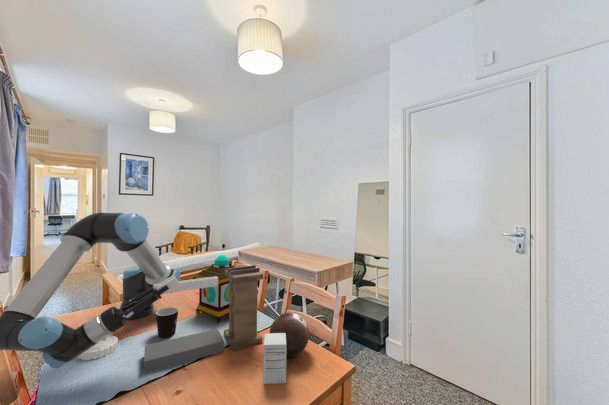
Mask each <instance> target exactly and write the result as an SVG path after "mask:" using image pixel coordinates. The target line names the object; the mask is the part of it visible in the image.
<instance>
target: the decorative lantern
mask: <svg viewBox="0 0 609 405" xmlns="http://www.w3.org/2000/svg"><path fill="white" fill-rule="evenodd" d="M229 260H230V259H229V258H228V257H227V256H226V255H224V254H219V255H218V256H217V257H216V258H215V259H214V263H213V264H211V266H209V267H207V268H205V269H202V270H201V271H199V272H198V273H197V274H196V275H197V278H206V277H214V276H217V277H218V286H213V287H206V288H199V289H198V290H199V295H198V296H199V297H198V298H199V300H198V305H197V306H196V309H195V314H196V316H199V315H200V314H201V313H204V314H206V315H209V316H211V317H213V318H216V321H217V322H216V323H217V324H219V323H220V324H221V321H222V318H223V317H225V316H227V315H229V295H230V279H229V278H228V277H227V276H226V275H225V270H226V269H227V268H235V267H236V266H234V265H233V264H232V263H230V261H229Z"/></svg>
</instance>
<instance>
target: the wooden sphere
mask: <svg viewBox="0 0 609 405" xmlns="http://www.w3.org/2000/svg"><path fill="white" fill-rule="evenodd" d="M269 333H286V358H292V357H296V356H298V355H299V354H301V353H302V352H303V351H304V350H305V348H306V347H307V346H308V342H309V340H310V330H309V326H308V323H307V322H306V320H305V319H304V318H303V317H302V316H301V315H300V314H297V313H295V312H284V313H282V314H280V315H279V316H277V317H276V318H275V319H274V320H273V322H272V323H271V325H270V330H269Z"/></svg>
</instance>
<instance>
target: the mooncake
mask: <svg viewBox="0 0 609 405" xmlns="http://www.w3.org/2000/svg"><path fill="white" fill-rule="evenodd" d="M118 348H119V338H118V337H117V336H115V335H109V336H107V337H106V339H105V340H101V341H100V342H98V343H97V344H95V345H94V346H92V347H91V348H89V349H88V350H86V351H85V352H83V353H82V354H81V355H79V356H78V357H79V358H78V357H77V358H78V360H79V359H82V360H81V361H83V360H84V361H87V360H89V361H91V360H90V359H95V360H97V359H101V358H100V357H102V358H103V356H104V357H106V356H105V355H107V356H109V355H110V354H113V352H115V351H116V350H117V349H118ZM114 350H115V351H114ZM109 353H110V354H109ZM108 354H109V355H108ZM96 358H97V359H96Z"/></svg>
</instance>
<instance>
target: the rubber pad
mask: <svg viewBox="0 0 609 405" xmlns="http://www.w3.org/2000/svg"><path fill="white" fill-rule="evenodd" d="M223 352H225V340H224V338H223V336H222V334H221V332H220V331H219V329H218V328H215V329H210V330H206V331H201V332H198V333H193V334H188V335H183V336H180V337H176V338H171V339H168V340H162V341H160V342H154V343H150V344H145V345H144V352H143V354H144V357H143V358H144V359H143V374H144V373H145V374H147V373H148V374H149V373H151V371H152V372H156V371H159V370H162V369H166V368H169V366H170V367H173V366H176V364H177V365H181V364H183V363H188V362H190V361H194V359H195V360H198V359H202V358H206V357H209V356H212V355H213V356H214V355H216V354H219V353H223ZM180 363H181V364H180ZM155 370H156V371H155Z"/></svg>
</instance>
